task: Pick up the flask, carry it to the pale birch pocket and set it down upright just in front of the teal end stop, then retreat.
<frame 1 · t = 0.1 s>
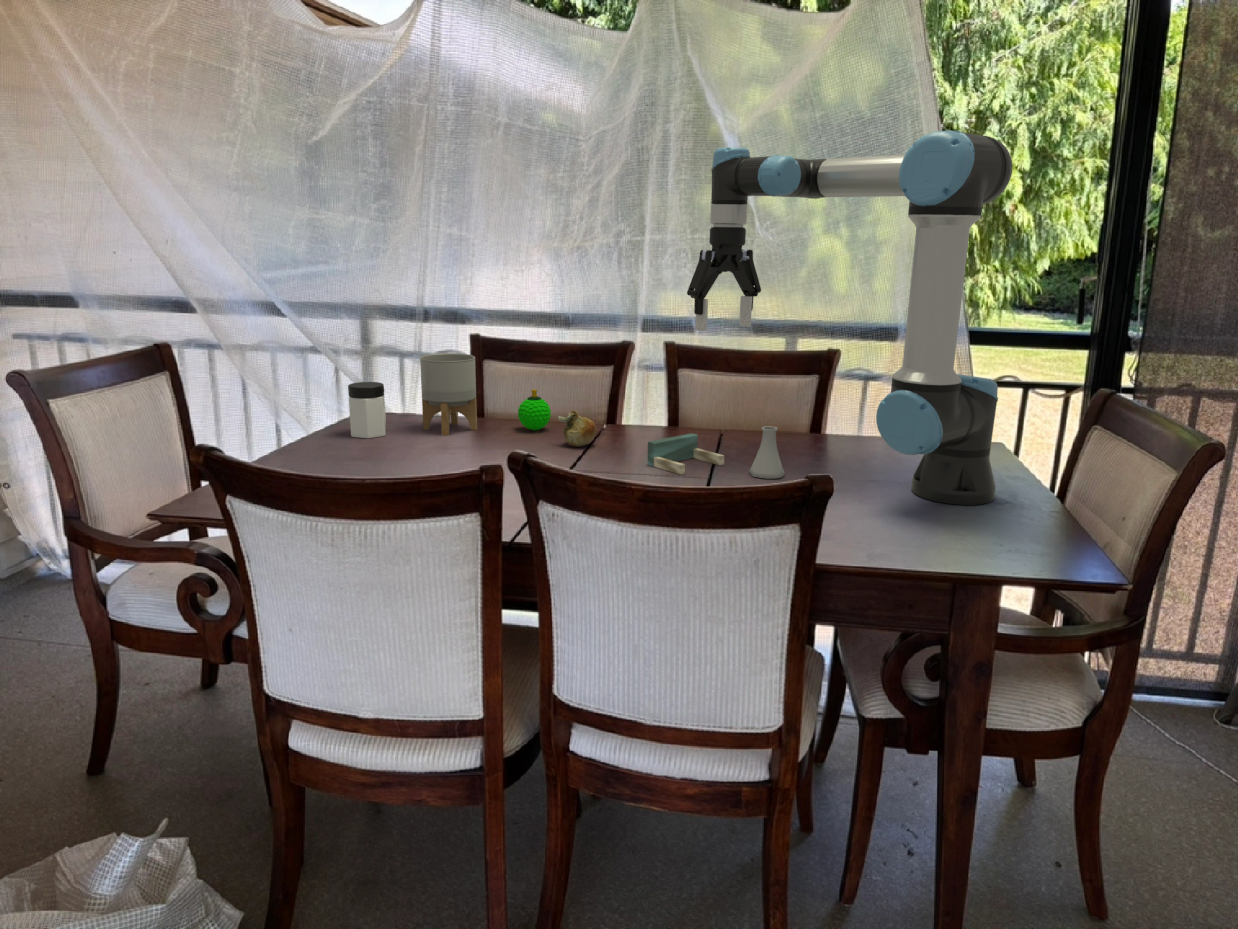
hand: (723, 328, 193), 28 cm above the table, fingers open, 13 cm apart
onion: (579, 446, 206), on the table
jar: (368, 435, 213), on the table
pocket: (685, 464, 191), on the table
ornament: (534, 430, 220), on the table
flask: (766, 476, 184), on the table
planter: (450, 430, 220), on the table
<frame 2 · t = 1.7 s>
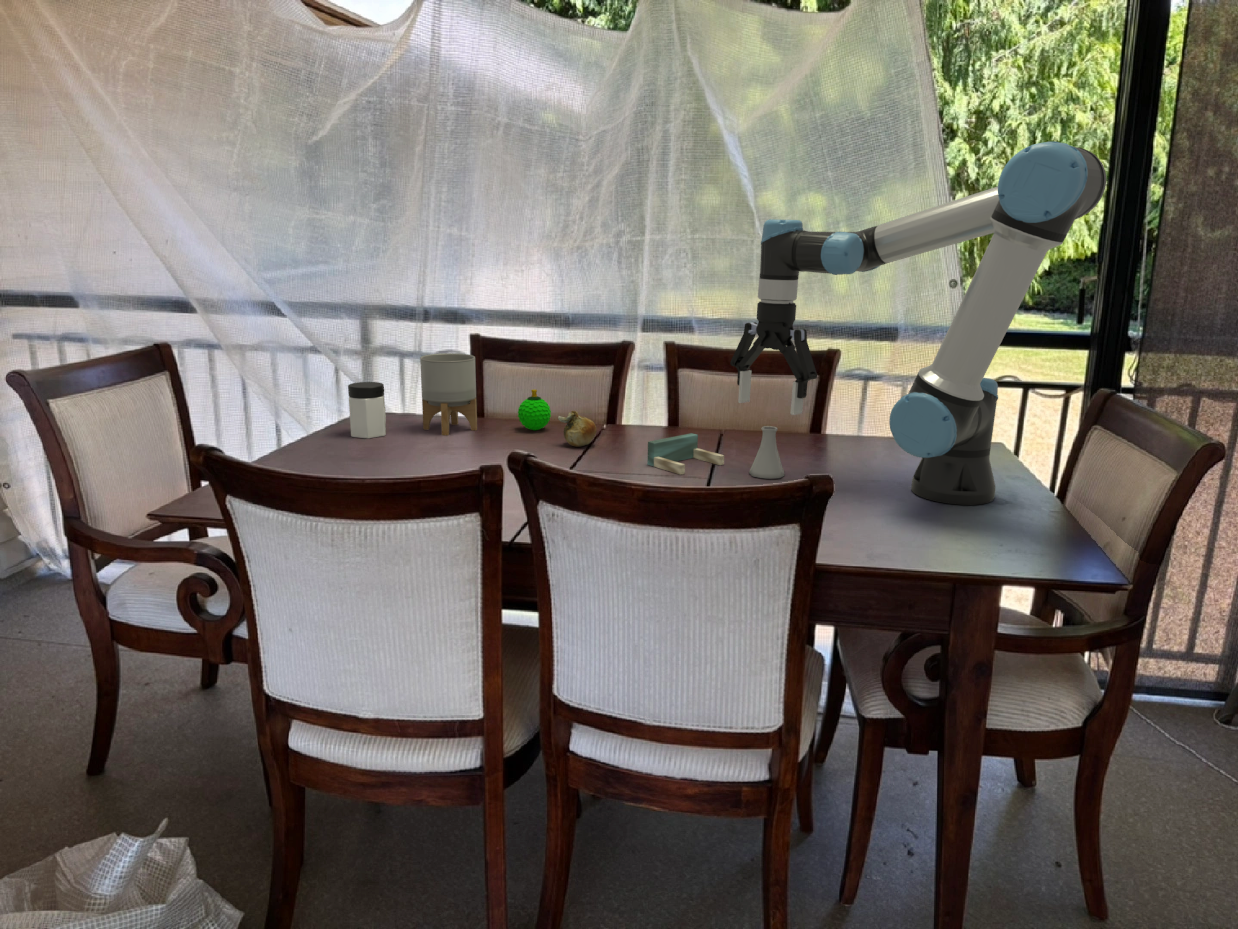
hand: (769, 408, 180), 14 cm above the table, fingers open, 13 cm apart
nothing on the table moved.
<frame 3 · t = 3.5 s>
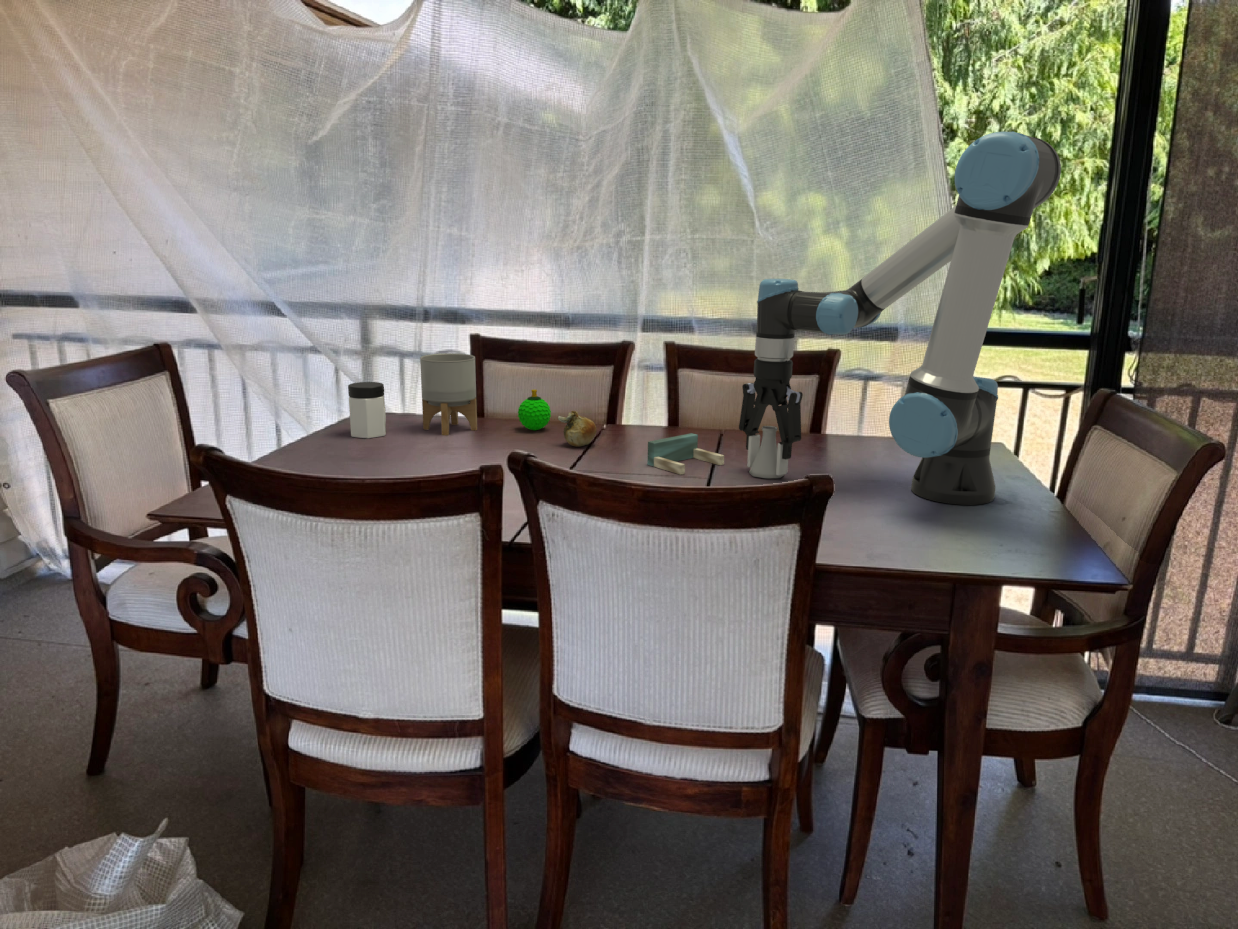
hand: (767, 469, 184), 1 cm above the table, fingers closed on flask, 7 cm apart
flask: (766, 475, 184), on the table, touching gripper
everything else where it was.
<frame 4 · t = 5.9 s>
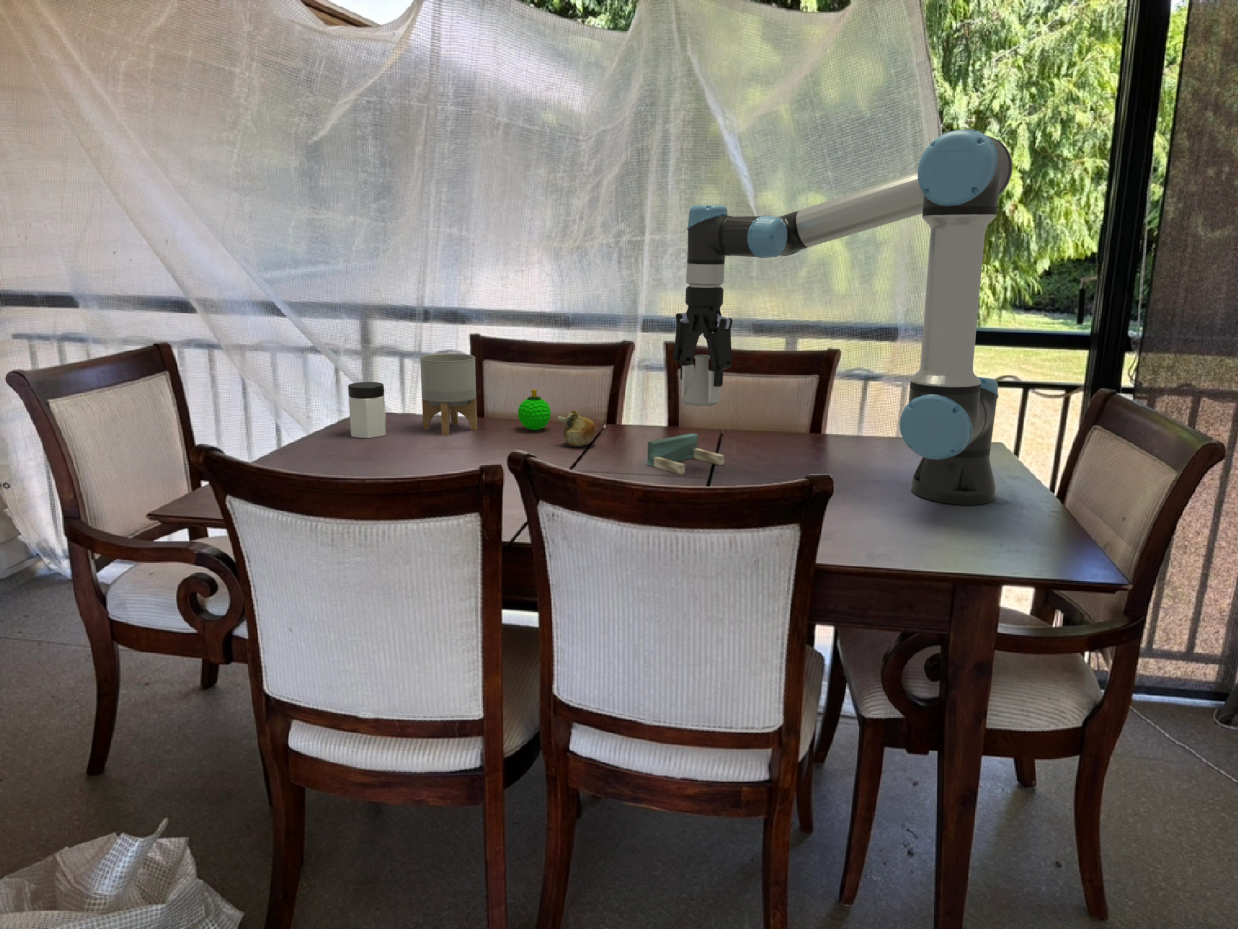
hand: (700, 399, 184), 15 cm above the table, fingers closed on flask, 7 cm apart
flask: (700, 405, 185), point 13 cm above the table, touching gripper
everything else where it was.
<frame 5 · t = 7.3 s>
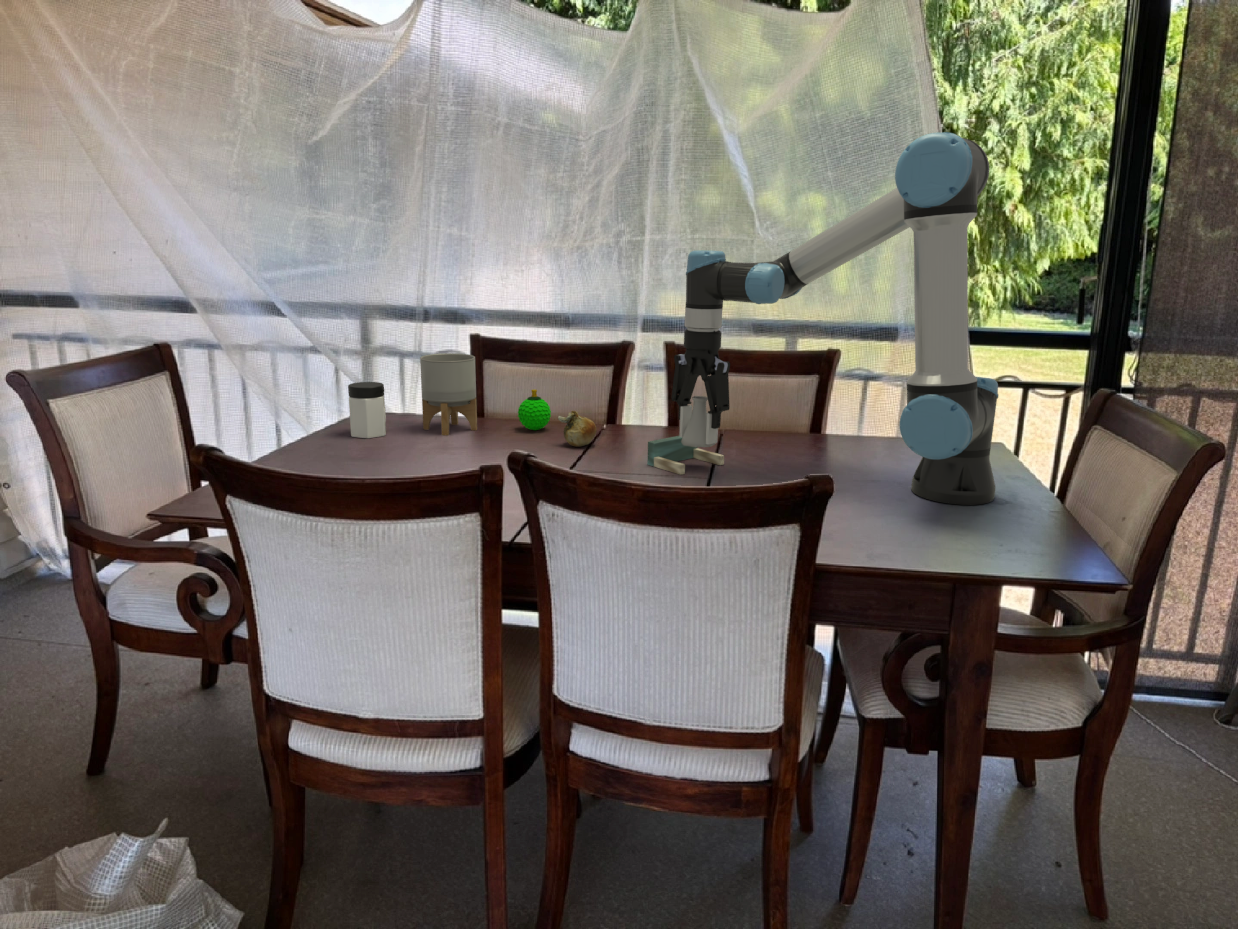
hand: (698, 439, 187), 6 cm above the table, fingers closed on flask, 7 cm apart
flask: (697, 445, 187), point 5 cm above the table, touching gripper
everything else where it was.
when the fingers open (2 cm above the table, at t = 8.4 s): flask drops 1 cm, on the table.
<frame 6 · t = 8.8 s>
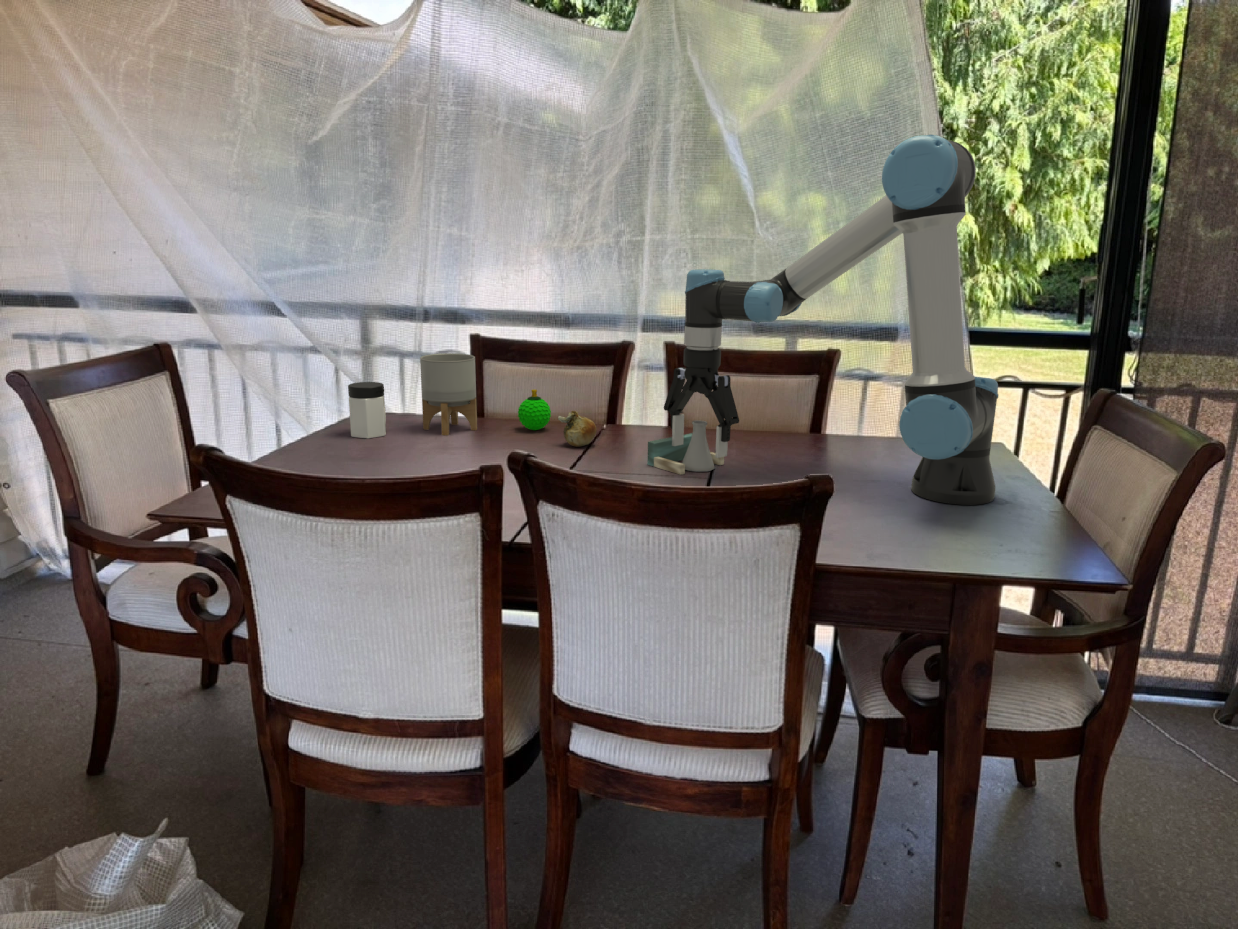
hand: (698, 450, 187), 4 cm above the table, fingers open, 12 cm apart
flask: (697, 469, 188), on the table
everything else where it was.
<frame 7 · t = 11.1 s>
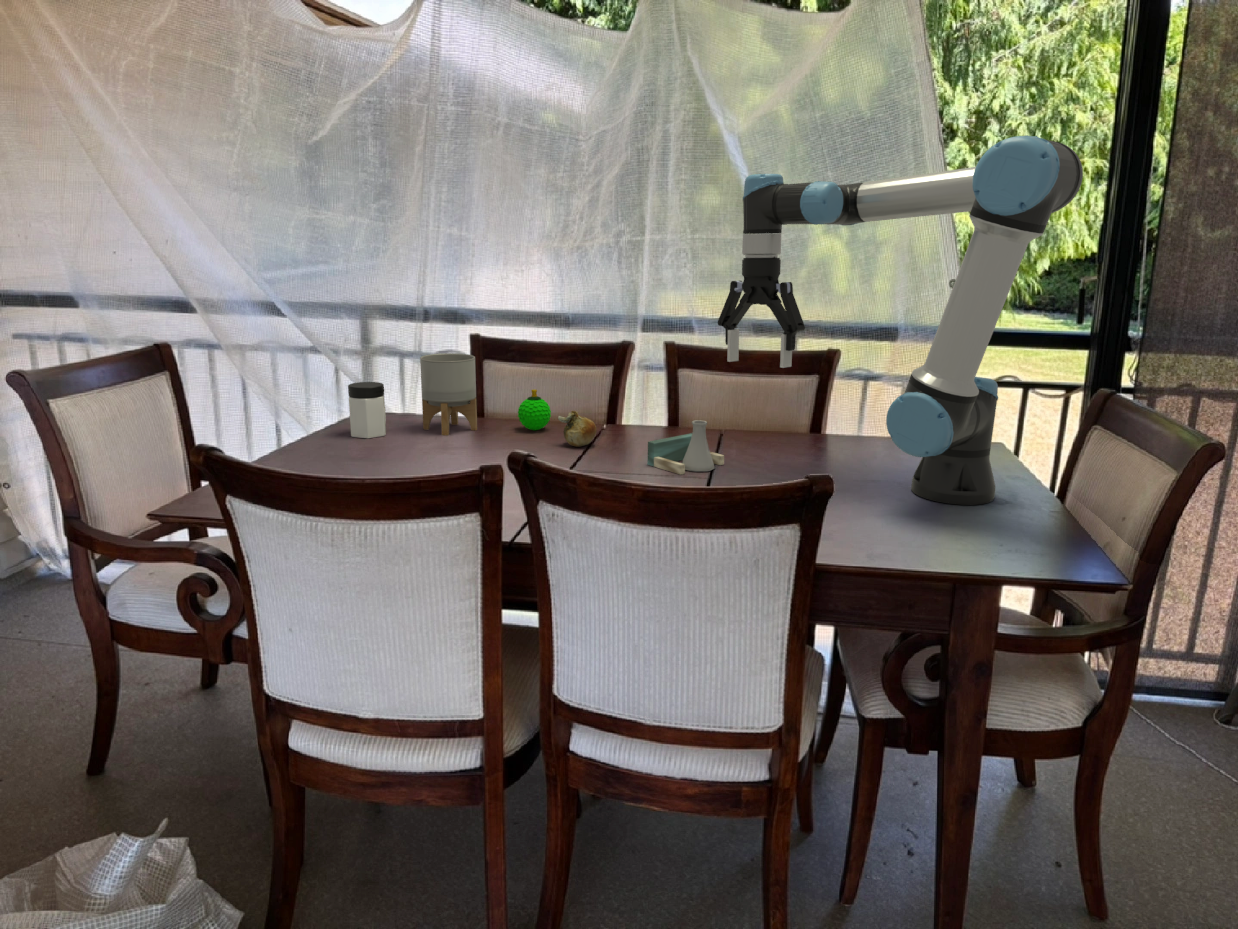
hand: (758, 364, 182), 22 cm above the table, fingers open, 13 cm apart
nothing on the table moved.
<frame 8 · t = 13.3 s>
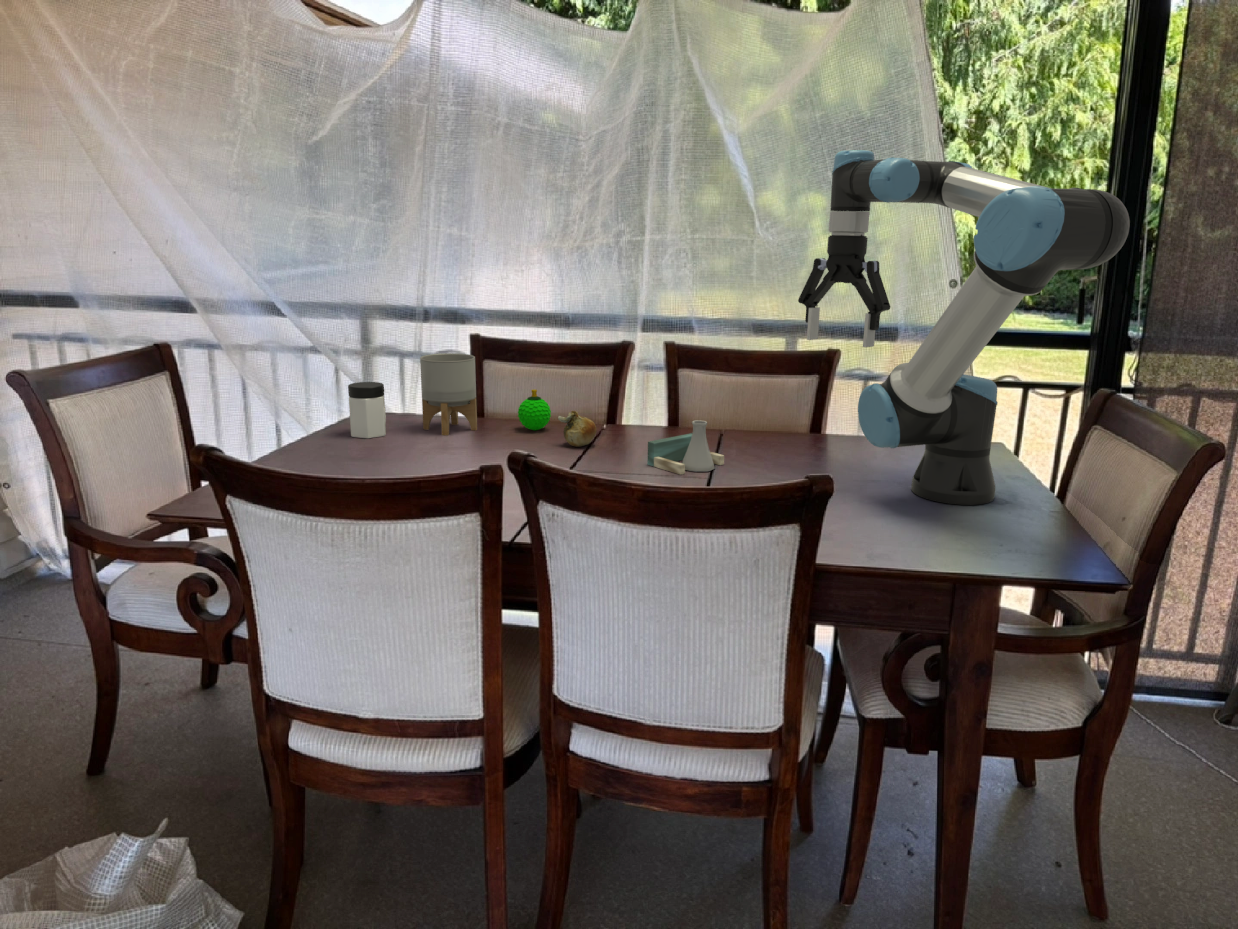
hand: (839, 343, 181), 27 cm above the table, fingers open, 13 cm apart
nothing on the table moved.
at the end: flask inside the target area (1.2 cm from its centre), on the table; flask tilted 0°; the gripper is holding nothing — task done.
